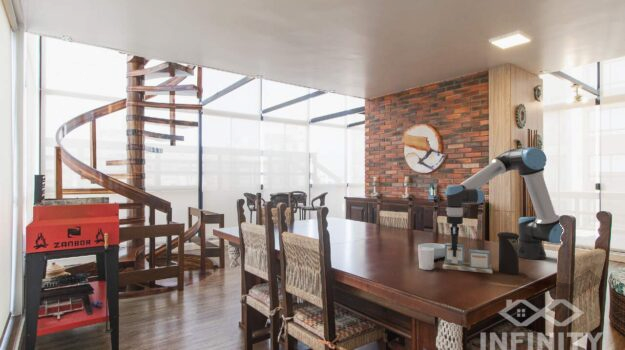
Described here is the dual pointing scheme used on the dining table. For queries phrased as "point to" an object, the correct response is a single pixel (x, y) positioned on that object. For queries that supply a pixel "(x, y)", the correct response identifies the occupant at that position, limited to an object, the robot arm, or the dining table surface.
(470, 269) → the shelf
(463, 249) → the tea box
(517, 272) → the container
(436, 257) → the cereal bowl
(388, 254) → the dining table surface
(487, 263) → the faced tea box
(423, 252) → the white cup
